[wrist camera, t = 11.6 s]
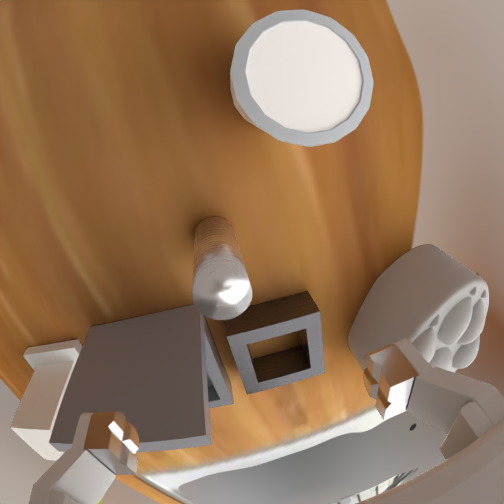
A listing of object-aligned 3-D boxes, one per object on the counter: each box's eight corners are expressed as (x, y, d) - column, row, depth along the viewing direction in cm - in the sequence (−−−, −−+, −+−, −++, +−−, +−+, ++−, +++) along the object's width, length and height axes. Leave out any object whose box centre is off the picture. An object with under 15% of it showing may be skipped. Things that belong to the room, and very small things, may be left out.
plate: (27, 347, 23) (23, 355, 21) (78, 339, 23) (74, 347, 22) (66, 400, 26) (64, 408, 25) (117, 396, 26) (115, 405, 25)
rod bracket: (223, 313, 24) (226, 336, 21) (307, 290, 24) (320, 311, 22) (242, 370, 27) (247, 394, 24) (314, 351, 27) (324, 372, 25)
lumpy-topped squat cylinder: (335, 351, 28) (371, 417, 20) (396, 230, 24) (464, 276, 16) (405, 355, 31) (443, 406, 23) (460, 257, 26) (516, 297, 18)
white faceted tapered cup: (219, 42, 16) (229, 3, 10) (320, 47, 17) (371, 21, 11) (222, 141, 19) (232, 148, 12) (322, 140, 20) (374, 150, 13)
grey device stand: (90, 326, 23) (48, 442, 12) (200, 302, 23) (206, 435, 12) (137, 400, 27) (128, 502, 16) (230, 384, 27) (249, 494, 17)
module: (37, 365, 22) (10, 427, 15) (74, 361, 22) (49, 430, 15) (64, 400, 24) (46, 460, 17) (100, 397, 25) (86, 463, 17)
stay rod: (190, 222, 21) (184, 277, 13) (229, 212, 21) (245, 261, 14) (200, 258, 22) (201, 325, 15) (238, 248, 22) (257, 312, 15)
